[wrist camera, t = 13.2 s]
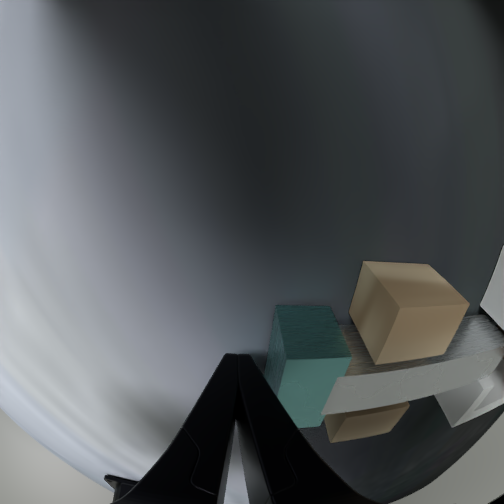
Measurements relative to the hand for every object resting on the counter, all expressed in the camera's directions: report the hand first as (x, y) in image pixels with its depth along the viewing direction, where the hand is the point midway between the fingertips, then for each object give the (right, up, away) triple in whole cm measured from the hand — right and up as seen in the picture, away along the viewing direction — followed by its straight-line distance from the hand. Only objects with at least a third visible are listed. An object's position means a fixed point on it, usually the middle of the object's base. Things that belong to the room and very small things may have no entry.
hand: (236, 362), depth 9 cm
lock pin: (+7, 0, +1) cm, 7 cm away
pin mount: (+5, 0, +1) cm, 5 cm away
